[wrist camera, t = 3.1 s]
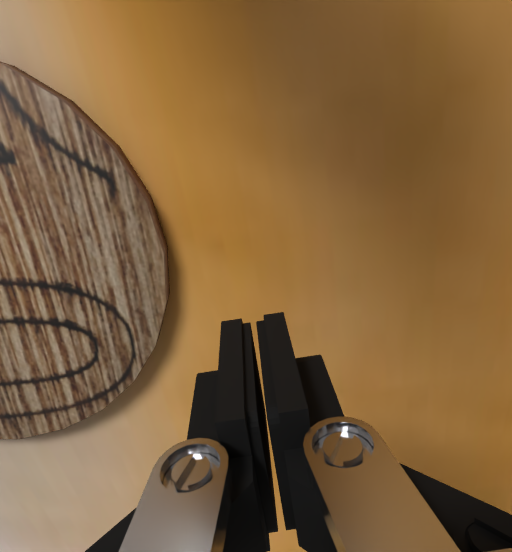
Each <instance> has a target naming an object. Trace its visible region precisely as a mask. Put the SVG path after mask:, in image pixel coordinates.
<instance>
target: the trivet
mask: <svg viewBox="0 0 512 552" xmlns="http://www.w3.org/2000/svg"><path fill="white" fill-rule="evenodd" d="M169 293H170V289H169V268H168V248H167V243H166V240H165V237H164V234H163V231H162V228H161V225H160V222H159V219H158V216H157V213H156V210H155V207H154V204H153V201H152V198H151V195H150V194H149V192H148V190H147V189H146V187H145V186H144V184H143V183H142V181H141V180H140V178H139V176H138V175H137V173H136V172H135V170H134V169H133V167H132V165H131V164H130V162H129V161H128V159H127V158H126V156H125V154H124V153H123V151H122V150H121V148H120V147H119V145H117V144H116V143H115V142H114V141H113V140H112V139H111V138H110V137H109V136H108V135H107V134H106V133H105V132H104V131H103V130H102V129H101V128H100V127H99V126H98V125H97V124H96V123H95V122H94V121H93V120H92V119H91V118H90V117H89V116H88V115H87V114H86V113H85V112H84V111H82V110H81V109H80V108H79V107H78V106H77V105H76V104H75V103H74V102H73V101H72V100H70V99H68V98H67V97H65V96H63V95H62V94H60V93H58V92H57V91H55V90H53V89H52V88H50V87H48V86H47V85H45V84H43V83H42V82H40V81H38V80H37V79H35V78H33V77H32V76H30V75H29V74H27V73H25V72H24V71H22V70H20V69H19V68H17V67H15V66H12V65H9V64H6V63H3V62H0V439H22V438H26V437H30V436H35V435H39V434H44V433H48V432H52V431H57V430H61V429H65V428H67V427H69V426H71V425H73V424H75V423H77V422H79V421H81V420H83V419H85V418H87V417H89V416H91V415H93V414H95V413H97V412H99V411H101V410H103V409H104V408H105V407H106V406H107V405H108V404H109V403H111V402H112V401H113V400H114V399H115V398H116V397H117V396H118V395H120V394H121V393H122V392H123V391H124V390H125V389H126V388H127V387H129V386H130V385H131V384H132V383H133V382H134V380H135V379H136V377H137V375H138V374H139V372H140V371H141V369H142V367H143V366H144V364H145V362H146V361H147V359H148V357H149V356H150V354H151V352H152V351H153V349H154V348H155V346H156V343H157V340H158V337H159V334H160V330H161V326H162V322H163V318H164V314H165V310H166V305H167V301H168V297H169Z"/></svg>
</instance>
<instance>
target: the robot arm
mask: <svg viewBox="0 0 512 552" xmlns="http://www.w3.org/2000/svg"><path fill="white" fill-rule="evenodd" d="M256 323H257V332H258V341H259V350H260V359H261V368H262V377H263V386H264V395H265V404H266V412H267V419H268V426H269V432H270V438H271V444H272V450H273V456H274V462H275V468H276V474H277V479H278V485H279V491H280V497H281V503H282V509H283V515H284V521H285V527H286V530H291V529H296V531H297V537H298V544H299V546H300V547H302V548H303V549H304V550H306V551H307V552H512V515H510V514H509V513H507V512H505V511H502V510H500V509H498V508H496V507H494V506H492V505H489V504H487V503H485V502H483V501H481V500H478V499H476V498H474V497H472V496H470V495H468V494H465V493H463V492H461V491H459V490H457V489H455V488H452V487H450V486H448V485H446V484H444V483H441V482H439V481H437V480H435V479H433V478H431V477H428V476H426V475H424V474H422V473H420V472H418V471H415V470H413V469H411V468H409V467H407V466H405V465H402V464H400V463H399V462H398V461H397V459H396V458H395V456H394V455H393V454H392V452H391V451H390V449H389V448H388V446H387V445H386V443H385V442H384V441H383V439H382V438H381V436H380V435H379V433H378V432H377V431H376V430H375V429H374V428H373V427H372V426H370V425H369V424H367V423H365V422H364V421H362V420H358V419H355V418H352V417H344V415H343V412H342V409H341V407H340V404H339V401H338V399H337V396H336V393H335V391H334V388H333V385H332V383H331V380H330V377H329V375H328V372H327V369H326V367H325V364H324V361H323V359H322V356H321V355H315V356H308V357H302V358H295V356H294V352H293V348H292V344H291V340H290V336H289V332H288V329H287V325H286V321H285V317H284V313H283V312H280V313H274V314H267V315H264V320H263V321H257V322H256ZM271 532H278V525H277V516H276V506H275V497H274V488H273V478H272V469H271V460H270V450H269V441H268V432H267V422H266V414H265V407H264V401H263V395H262V389H261V383H260V377H259V371H258V365H257V359H256V353H255V347H254V342H253V336H252V330H251V324H250V323H244V324H243V322H242V319H235V320H229V321H222V322H221V335H220V350H219V366H218V370H217V371H210V372H204V373H198V374H197V377H196V383H195V390H194V396H193V403H192V409H191V416H190V423H189V429H188V436H187V440H186V441H183V442H180V443H178V444H176V445H174V446H173V447H171V448H170V449H168V450H167V451H166V452H165V453H164V454H163V455H162V456H161V457H160V458H159V459H158V461H157V462H156V464H155V466H154V467H153V469H152V472H151V474H150V477H149V479H148V482H147V484H146V486H145V489H144V491H143V494H142V496H141V499H140V501H139V503H138V506H137V508H135V509H134V510H133V511H132V512H131V513H130V514H128V515H127V516H126V517H125V518H124V519H123V520H121V521H120V522H119V523H118V524H117V525H115V526H114V527H113V528H112V529H111V530H110V531H108V532H107V533H106V534H105V535H104V536H103V537H101V538H100V539H99V540H98V541H97V542H95V543H94V544H93V545H92V546H91V547H90V548H88V549H87V550H86V551H85V552H266V551H270V543H269V533H271Z"/></svg>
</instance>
